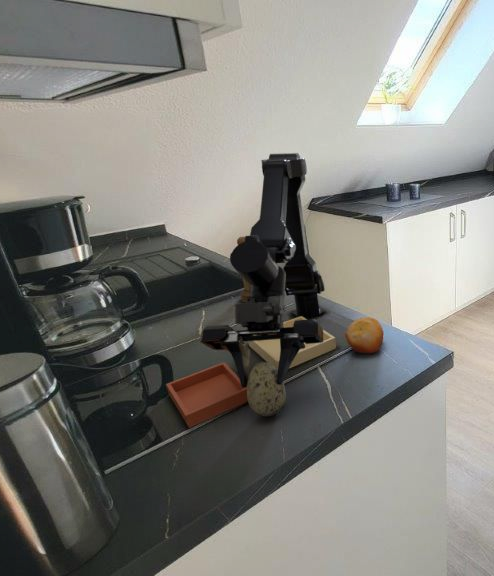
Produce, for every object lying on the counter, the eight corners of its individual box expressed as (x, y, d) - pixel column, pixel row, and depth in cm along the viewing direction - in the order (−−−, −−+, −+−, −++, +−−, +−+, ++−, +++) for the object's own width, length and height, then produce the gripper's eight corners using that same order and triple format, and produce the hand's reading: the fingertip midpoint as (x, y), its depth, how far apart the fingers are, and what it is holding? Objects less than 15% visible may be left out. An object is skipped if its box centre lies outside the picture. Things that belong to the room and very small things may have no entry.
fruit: (392, 332, 92) (384, 313, 86) (382, 364, 87) (373, 346, 81) (360, 328, 94) (349, 309, 88) (348, 359, 90) (336, 341, 83)
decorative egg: (246, 413, 69) (234, 363, 66) (279, 397, 73) (269, 349, 69) (261, 430, 65) (249, 378, 62) (295, 412, 69) (286, 362, 66)
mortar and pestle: (251, 305, 111) (238, 241, 104) (236, 300, 114) (223, 238, 107) (271, 296, 116) (260, 235, 109) (257, 292, 119) (245, 232, 112)
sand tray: (248, 345, 90) (246, 335, 89) (303, 325, 99) (301, 315, 98) (279, 372, 80) (277, 361, 79) (336, 348, 89) (335, 337, 88)
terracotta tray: (169, 395, 74) (165, 383, 73) (227, 372, 81) (224, 361, 80) (189, 428, 66) (185, 415, 65) (251, 399, 73) (248, 388, 72)
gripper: (190, 281, 63) (175, 382, 57) (312, 274, 65) (310, 371, 59) (219, 305, 73) (209, 393, 67) (324, 299, 75) (323, 384, 69)
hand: (261, 385), depth 66 cm, fingers closed on decorative egg, 5 cm apart
